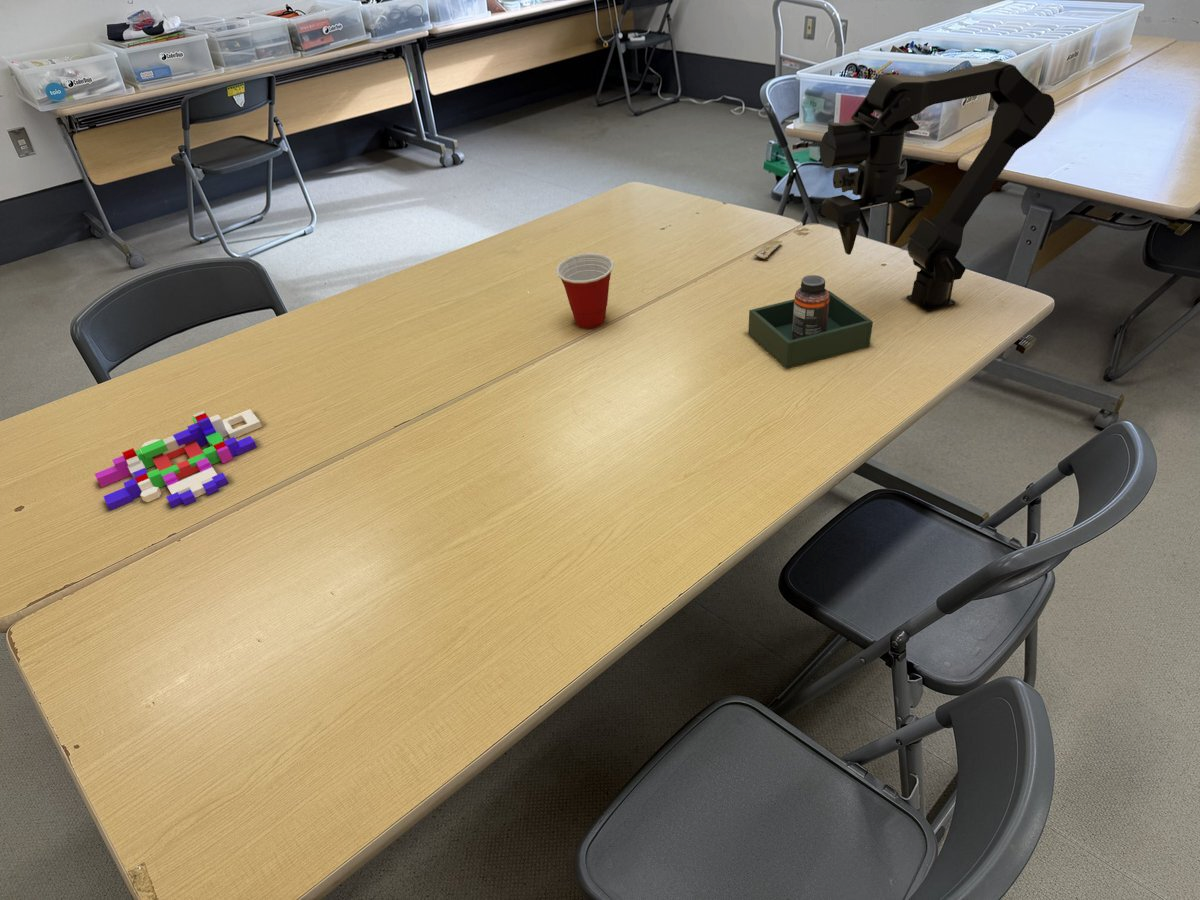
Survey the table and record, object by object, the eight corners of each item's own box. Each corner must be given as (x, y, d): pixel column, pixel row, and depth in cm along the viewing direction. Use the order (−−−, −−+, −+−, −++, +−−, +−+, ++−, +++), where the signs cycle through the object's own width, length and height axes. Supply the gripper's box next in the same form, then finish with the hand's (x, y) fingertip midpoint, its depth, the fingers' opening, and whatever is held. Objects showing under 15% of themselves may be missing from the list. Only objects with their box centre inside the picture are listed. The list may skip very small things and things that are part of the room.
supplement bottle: (816, 327, 144) (821, 269, 137) (831, 342, 139) (838, 283, 132) (785, 333, 143) (790, 275, 136) (800, 348, 138) (805, 289, 132)
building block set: (120, 534, 112) (106, 510, 110) (92, 468, 126) (79, 446, 123) (288, 459, 124) (279, 437, 121) (246, 407, 137) (237, 385, 135)
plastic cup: (553, 332, 151) (546, 274, 144) (575, 306, 159) (569, 250, 152) (605, 339, 147) (600, 280, 140) (625, 312, 155) (622, 255, 148)
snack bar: (769, 240, 176) (782, 237, 174) (771, 246, 177) (783, 244, 175) (752, 255, 170) (765, 253, 168) (754, 262, 170) (766, 259, 169)
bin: (826, 314, 149) (829, 290, 146) (869, 346, 138) (873, 321, 135) (748, 334, 145) (749, 310, 142) (786, 369, 134) (788, 343, 131)
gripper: (899, 138, 139) (886, 223, 148) (807, 156, 134) (800, 243, 144) (942, 154, 130) (925, 244, 140) (845, 175, 126) (834, 265, 135)
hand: (870, 248), depth 140 cm, fingers open, 9 cm apart
